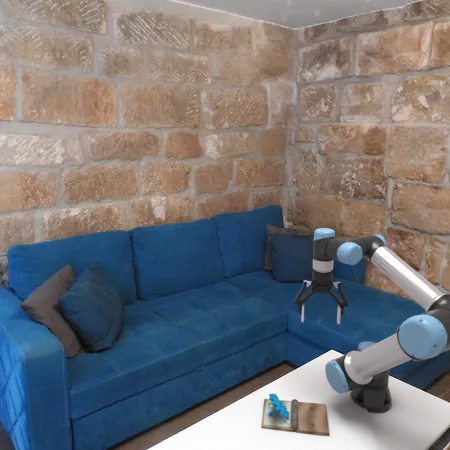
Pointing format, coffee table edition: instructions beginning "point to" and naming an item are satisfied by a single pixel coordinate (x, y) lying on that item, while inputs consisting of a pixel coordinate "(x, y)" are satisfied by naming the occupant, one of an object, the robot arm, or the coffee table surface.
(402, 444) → the coffee table surface
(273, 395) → the gear
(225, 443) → the coffee table surface
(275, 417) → the hinge board
